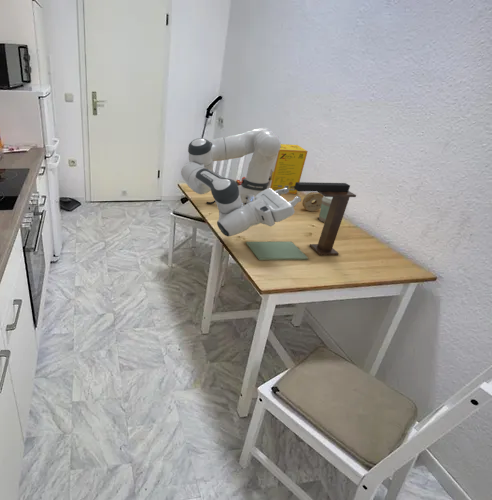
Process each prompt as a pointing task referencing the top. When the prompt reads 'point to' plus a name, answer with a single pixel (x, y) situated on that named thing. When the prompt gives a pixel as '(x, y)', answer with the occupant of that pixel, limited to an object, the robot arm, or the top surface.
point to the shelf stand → (332, 222)
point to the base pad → (276, 251)
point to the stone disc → (315, 205)
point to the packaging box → (287, 168)
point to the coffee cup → (325, 208)
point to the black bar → (322, 187)
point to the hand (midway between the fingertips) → (293, 193)
